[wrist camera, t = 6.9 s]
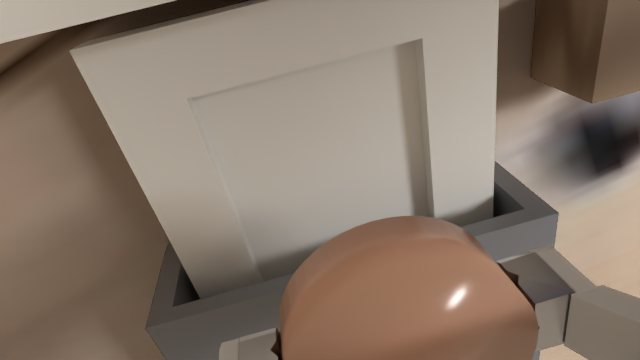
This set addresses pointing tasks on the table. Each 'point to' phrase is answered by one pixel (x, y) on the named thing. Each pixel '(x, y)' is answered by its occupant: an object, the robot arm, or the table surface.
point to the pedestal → (588, 47)
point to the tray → (291, 119)
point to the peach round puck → (405, 298)
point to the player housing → (264, 298)
